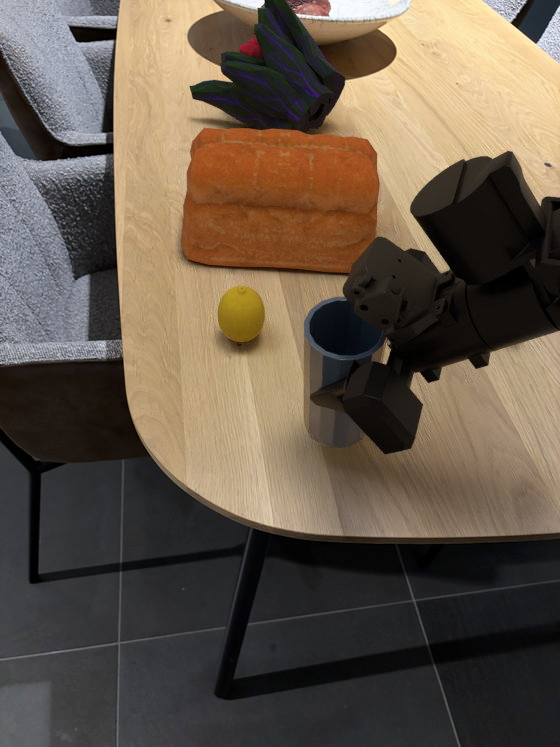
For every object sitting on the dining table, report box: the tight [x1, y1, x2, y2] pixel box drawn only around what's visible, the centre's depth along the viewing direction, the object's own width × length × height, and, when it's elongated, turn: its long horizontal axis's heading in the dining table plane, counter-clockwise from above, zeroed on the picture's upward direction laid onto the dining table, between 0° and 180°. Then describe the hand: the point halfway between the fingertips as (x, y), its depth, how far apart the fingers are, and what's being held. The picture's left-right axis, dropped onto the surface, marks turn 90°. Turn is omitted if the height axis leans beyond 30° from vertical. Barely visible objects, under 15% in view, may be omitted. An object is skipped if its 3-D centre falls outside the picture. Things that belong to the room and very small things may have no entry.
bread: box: [180, 127, 381, 274], centre depth 81 cm, size 14×27×15 cm, turn 89°
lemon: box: [217, 285, 266, 343], centre depth 70 cm, size 6×6×8 cm
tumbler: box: [302, 296, 387, 449], centre depth 54 cm, size 7×7×14 cm
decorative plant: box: [188, 0, 346, 134], centre depth 104 cm, size 21×26×30 cm
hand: (324, 370), depth 54 cm, fingers closed on tumbler, 7 cm apart
